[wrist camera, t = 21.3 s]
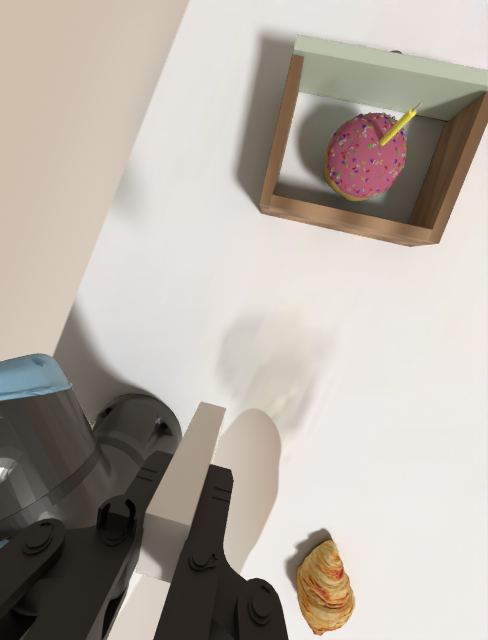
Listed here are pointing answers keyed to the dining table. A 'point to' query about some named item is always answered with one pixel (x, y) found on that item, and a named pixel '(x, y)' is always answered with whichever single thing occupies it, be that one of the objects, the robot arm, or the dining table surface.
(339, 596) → the croissant
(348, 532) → the dining table surface
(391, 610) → the dining table surface
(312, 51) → the grey flat panel
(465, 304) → the dining table surface
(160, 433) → the robot arm
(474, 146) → the holder
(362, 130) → the cupcake
